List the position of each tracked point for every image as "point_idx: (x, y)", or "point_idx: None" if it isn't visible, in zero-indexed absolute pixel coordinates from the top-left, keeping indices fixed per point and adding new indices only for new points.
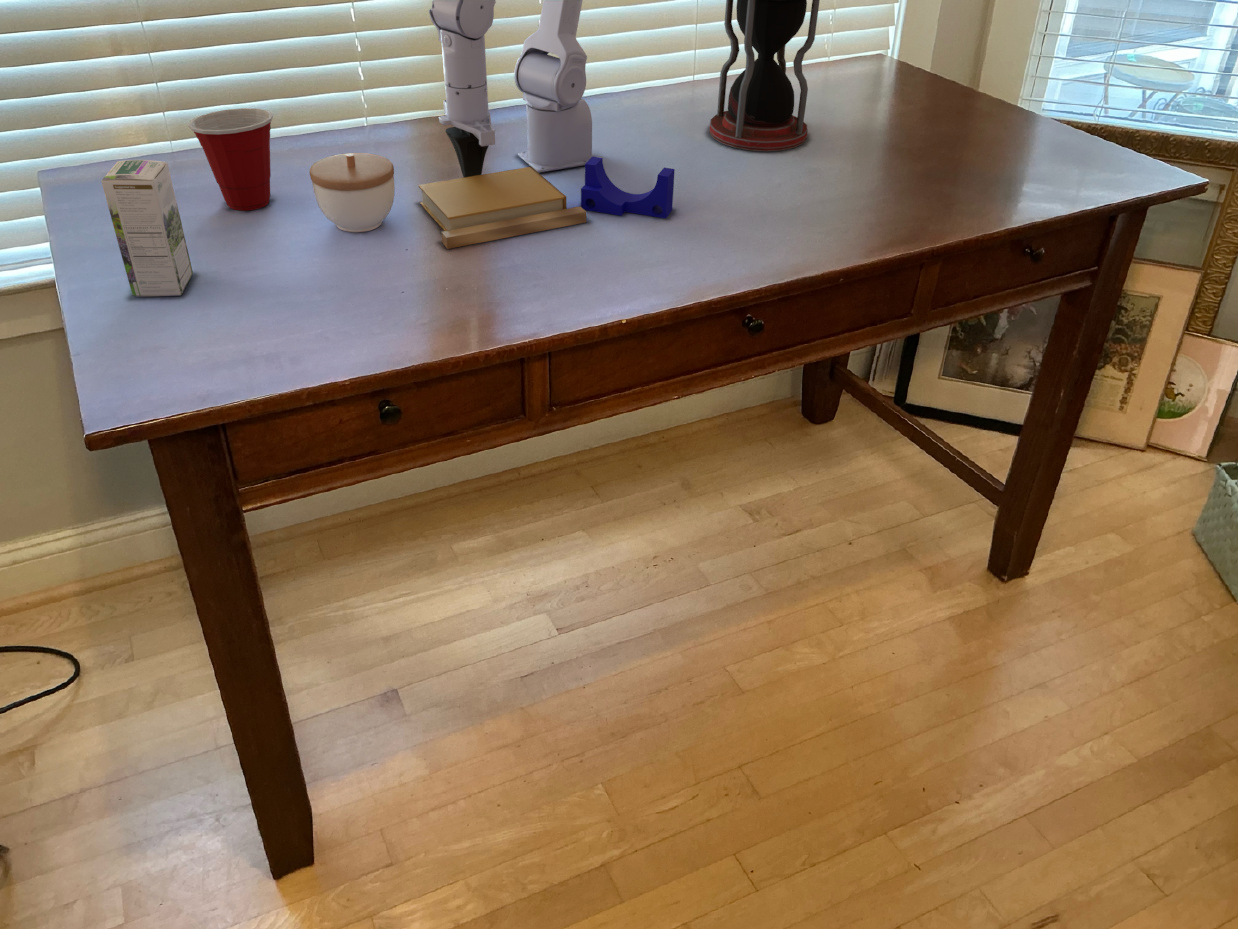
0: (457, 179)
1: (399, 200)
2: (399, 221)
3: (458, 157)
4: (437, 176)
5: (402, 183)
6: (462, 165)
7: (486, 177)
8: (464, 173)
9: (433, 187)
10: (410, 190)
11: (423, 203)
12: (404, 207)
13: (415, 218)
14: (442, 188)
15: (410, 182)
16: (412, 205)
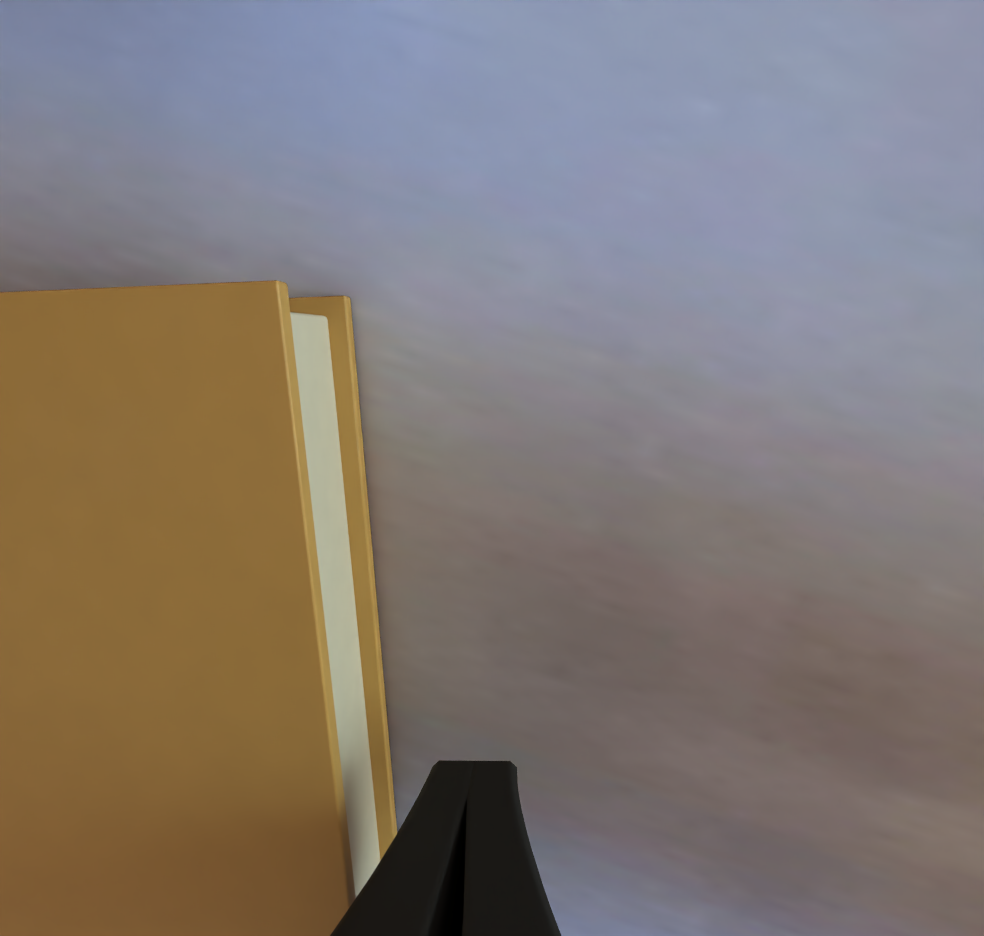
0: (304, 700)
1: (496, 140)
2: (49, 8)
3: (504, 929)
4: (857, 604)
5: (866, 281)
6: (412, 868)
7: (269, 922)
8: (422, 803)
9: (160, 418)
10: (674, 304)
11: (304, 313)
12: (330, 141)
13: (82, 170)
14: (112, 497)
15: (850, 358)
16: (350, 224)
